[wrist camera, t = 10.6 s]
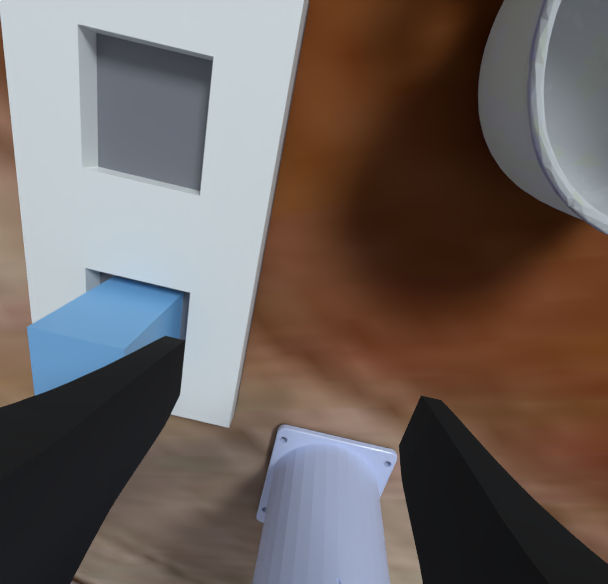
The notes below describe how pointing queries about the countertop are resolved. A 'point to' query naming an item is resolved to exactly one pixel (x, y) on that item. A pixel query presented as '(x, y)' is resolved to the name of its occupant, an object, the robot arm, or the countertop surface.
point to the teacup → (550, 102)
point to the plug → (100, 329)
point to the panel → (154, 159)
